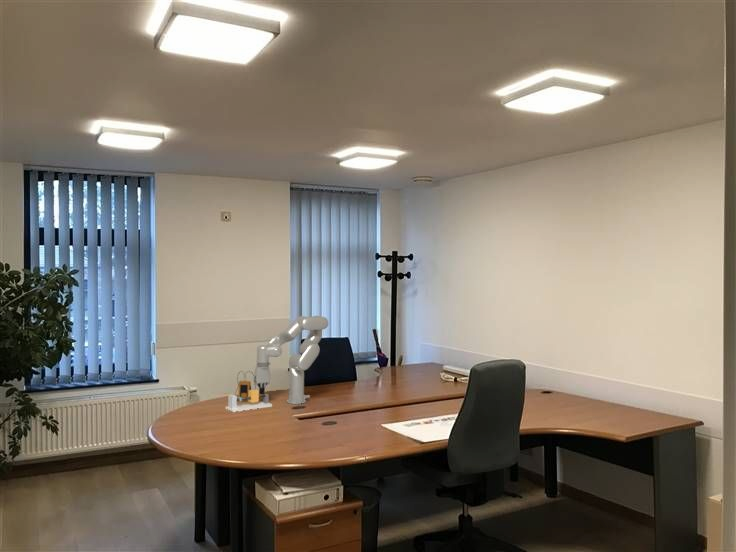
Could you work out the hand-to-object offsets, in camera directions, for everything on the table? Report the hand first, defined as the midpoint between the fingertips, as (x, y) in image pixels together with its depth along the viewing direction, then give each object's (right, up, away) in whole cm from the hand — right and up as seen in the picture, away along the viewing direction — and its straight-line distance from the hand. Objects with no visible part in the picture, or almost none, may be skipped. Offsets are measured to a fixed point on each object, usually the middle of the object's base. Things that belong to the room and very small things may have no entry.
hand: (261, 393), depth 370 cm
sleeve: (-5, -4, -4) cm, 7 cm away
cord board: (-7, -8, -6) cm, 12 cm away
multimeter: (-14, -8, +16) cm, 22 cm away
